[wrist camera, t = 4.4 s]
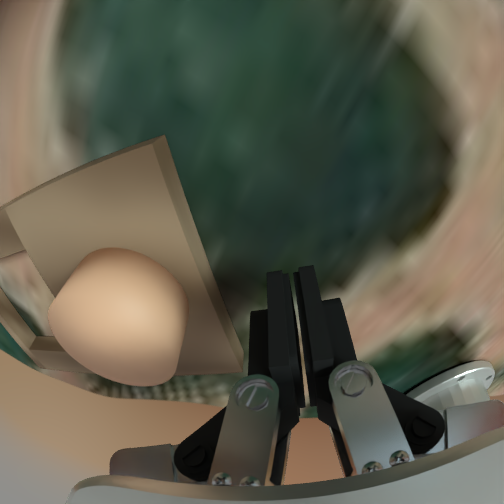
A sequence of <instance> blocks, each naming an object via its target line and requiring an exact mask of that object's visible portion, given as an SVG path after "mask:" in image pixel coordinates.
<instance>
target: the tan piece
mask: <svg viewBox="0 0 504 504" xmlns="http://www.w3.org/2000/svg"><path fill="white" fill-rule="evenodd" d="M110 247H116V248H124V249H128V250H133V251H135V252H138V253H141V254H143V255H145V256H147V257H149V258H151V259H153V260H154V261H156V262H158V263H159V264H160V265H162V266H163V267H164V268H166V269H167V270H168V271H169V272H170V273H171V274H172V275H173V276H174V277H175V278H176V279H177V281H178V282H179V283H180V285H181V286H182V288H183V290H184V292H185V294H186V296H187V299H188V303H189V318H188V322H187V326H186V330H185V334H184V338H183V343H182V347H181V351H180V355H179V360H178V364H177V368H176V371H175V374H174V375H173V376H180V375H206V374H223V373H237V372H243V356H244V351H243V349H242V347H241V344H240V342H239V339H238V337H237V334H236V332H235V329H234V327H233V324H232V322H231V319H230V317H229V314H228V312H227V309H226V307H225V304H224V302H223V299H222V296H221V294H220V291H219V289H218V286H217V283H216V281H215V278H214V275H213V273H212V270H211V267H210V265H209V262H208V259H207V257H206V254H205V251H204V249H203V246H202V243H201V240H200V237H199V235H198V232H197V229H196V226H195V223H194V221H193V218H192V215H191V212H190V209H189V206H188V203H187V200H186V198H185V195H184V192H183V189H182V186H181V183H180V180H179V177H178V174H177V171H176V168H175V165H174V161H173V158H172V155H171V152H170V149H169V146H168V143H167V140H166V136H165V135H162V136H159V137H156V138H153V139H150V140H147V141H144V142H141V143H138V144H135V145H132V146H130V147H127V148H124V149H122V150H119V151H116V152H114V153H111V154H109V155H106V156H104V157H101V158H99V159H96V160H94V161H91V162H89V163H87V164H84V165H82V166H80V167H77V168H75V169H73V170H71V171H69V172H66V173H64V174H62V175H60V176H58V177H56V178H54V179H52V180H50V181H47V182H45V183H43V184H41V185H40V186H38V187H36V188H34V189H32V190H30V191H28V192H26V193H24V194H22V195H21V196H19V197H17V198H15V199H13V200H12V201H10V202H8V203H6V204H5V205H3V206H1V207H0V258H3V257H6V256H8V255H11V254H14V253H17V252H20V251H23V250H26V251H27V253H28V255H29V257H30V258H31V260H32V262H33V263H34V265H35V267H36V268H37V270H38V272H39V273H40V275H41V277H42V278H43V280H44V281H45V283H46V285H47V286H48V288H49V289H50V291H51V292H52V294H53V295H54V297H55V298H56V296H57V295H58V293H59V292H60V290H61V289H62V287H63V286H64V284H65V283H66V282H67V280H68V279H69V277H70V276H71V275H72V273H73V272H74V270H75V269H76V268H77V266H78V265H79V264H80V262H81V261H82V260H83V259H84V257H85V256H87V255H88V254H89V253H91V252H93V251H95V250H98V249H102V248H110ZM0 322H1V323H2V325H3V326H4V327H5V328H6V330H7V331H8V332H9V333H10V335H11V336H12V337H13V338H14V339H15V341H16V342H17V343H18V344H19V345H20V347H21V348H22V349H23V350H24V351H25V352H26V353H27V354H28V356H29V357H30V358H31V359H32V360H33V361H34V362H35V363H36V364H37V365H38V366H39V367H40V368H43V369H51V370H59V371H69V372H79V373H92V374H96V373H94V372H92V371H91V370H89V369H87V368H86V367H84V366H83V365H81V364H80V363H79V362H77V361H76V360H75V359H74V358H72V357H71V356H70V355H69V354H68V353H67V352H66V351H65V350H64V349H63V348H62V346H61V345H60V344H59V342H58V341H57V339H56V338H55V336H36V335H35V334H34V333H33V332H32V330H31V329H30V328H29V326H28V325H27V324H26V323H25V321H24V320H23V319H22V317H21V316H20V315H19V313H18V312H17V311H16V309H15V308H14V306H13V305H12V304H11V302H10V301H9V299H8V298H7V296H6V295H5V293H4V292H3V290H2V289H1V287H0Z"/></svg>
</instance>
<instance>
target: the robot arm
mask: <svg viewBox="0 0 504 504" xmlns="http://www.w3.org/2000/svg"><path fill="white" fill-rule="evenodd" d="M293 275H294V282H295V290H296V297H297V305H298V312H299V320H300V328H301V336H302V345H303V353H304V361H305V369H306V376H307V384H308V391H309V399H310V406H317V413H318V419H319V420H321V421H322V422H324V423H325V424H327V425H329V429H330V432H331V435H332V439H333V442H334V445H335V449H336V452H337V455H338V459H339V462H340V466H341V469H342V472H343V476H344V478H340V479H333V480H327V481H320V482H312V483H303V484H292V485H284V479H285V472H286V466H287V459H288V451H289V444H290V436H291V429H292V428H293V427H294V426H295V425H296V424H297V423H298V422H299V416H300V408H304V407H305V395H304V385H303V374H302V364H301V355H300V345H299V336H298V328H297V321H296V315H295V309H294V303H293V297H292V291H291V285H290V280H289V274H288V273H287V274H283V273H282V270H281V271H274V272H268V273H267V305H268V309H265V310H258V311H251V314H250V337H249V363H248V376H247V377H244V378H242V379H241V380H239V381H238V382H237V383H236V384H235V385H234V386H233V388H232V390H231V392H230V396H229V400H228V404H227V406H226V407H224V408H223V409H222V410H221V411H220V412H219V413H217V414H216V415H215V416H214V417H213V418H211V419H210V420H209V421H208V422H206V423H205V424H204V425H203V426H201V427H200V428H199V429H198V430H197V431H195V432H194V433H193V434H191V435H190V436H189V437H187V438H186V439H185V440H184V441H183V442H181V444H178V445H171V444H164V445H157V446H148V447H138V448H127V449H121V450H118V451H117V452H115V453H114V454H113V456H112V457H111V460H110V475H103V476H96V477H91V478H87V479H85V480H82V481H80V482H78V483H77V484H76V485H75V486H74V487H73V488H72V490H71V492H70V494H69V496H68V498H67V501H66V504H504V403H503V402H501V401H499V400H490V398H489V395H488V393H487V389H488V387H489V386H490V384H491V383H492V381H493V379H494V376H495V371H494V369H493V367H492V365H491V363H489V362H488V361H483V360H482V361H474V362H469V363H466V364H463V365H460V366H457V367H455V368H453V369H450V370H448V371H446V372H444V373H442V374H440V375H438V376H436V377H434V378H432V379H430V380H428V381H427V382H425V383H423V384H421V385H420V386H418V387H417V388H415V389H413V390H412V391H410V392H409V393H408V394H406V395H405V394H403V393H401V392H399V391H397V390H395V389H393V388H391V387H389V386H387V385H385V384H383V383H381V381H380V379H379V376H378V374H377V372H376V371H375V369H374V368H373V367H372V366H370V365H369V364H368V363H365V362H362V361H357V358H356V354H355V350H354V346H353V342H352V339H351V335H350V331H349V327H348V324H347V320H346V316H345V313H344V309H343V306H342V302H341V299H340V298H335V299H329V300H324V301H322V300H321V296H320V292H319V287H318V283H317V278H316V274H315V270H314V266H313V265H311V266H305V267H299V272H294V273H293Z"/></svg>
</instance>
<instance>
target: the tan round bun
mask: <svg viewBox="0 0 504 504" xmlns="http://www.w3.org/2000/svg"><path fill="white" fill-rule="evenodd" d="M188 318H189V303H188V299H187V296H186V294H185V292H184V290H183V288H182V286H181V285H180V283H179V282H178V281H177V279H176V278H175V277H174V276H173V275H172V274H171V273H170V272H169V271H168V270H167V269H166V268H164V267H163V266H162V265H160V264H159V263H158V262H156V261H154V260H153V259H151V258H149V257H147V256H145V255H143V254H141V253H138V252H135V251H133V250H128V249H124V248H116V247H110V248H102V249H98V250H95V251H93V252H91V253H89V254H88V255H87V256H85V257H84V259H83V260H82V261H81V262H80V264H79V265H78V266H77V268H76V269H75V270H74V272H73V273H72V275H71V276H70V277H69V279H68V280H67V282H66V283H65V284H64V286H63V287H62V289H61V290H60V292H59V293H58V295H57V296H56V298H55V299H54V301H53V302H52V304H51V305H50V308H49V311H48V321H49V325H50V328H51V331H52V333H53V334H54V336H55V338H56V339H57V341H58V342H59V344H60V345H61V346H62V348H63V349H64V350H65V351H66V352H67V353H68V354H69V355H70V356H71V357H72V358H74V359H75V360H76V361H77V362H79V363H80V364H81V365H83V366H84V367H86V368H87V369H89V370H91V371H92V372H94V373H96V374H98V375H100V376H102V377H104V378H107V379H109V380H112V381H115V382H118V383H122V384H127V385H133V386H154V385H159V384H162V383H164V382H166V381H168V380H169V379H170V378H171V377H172V376H173V375H174V374H175V371H176V368H177V364H178V360H179V355H180V351H181V347H182V343H183V338H184V334H185V330H186V326H187V322H188Z"/></svg>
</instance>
